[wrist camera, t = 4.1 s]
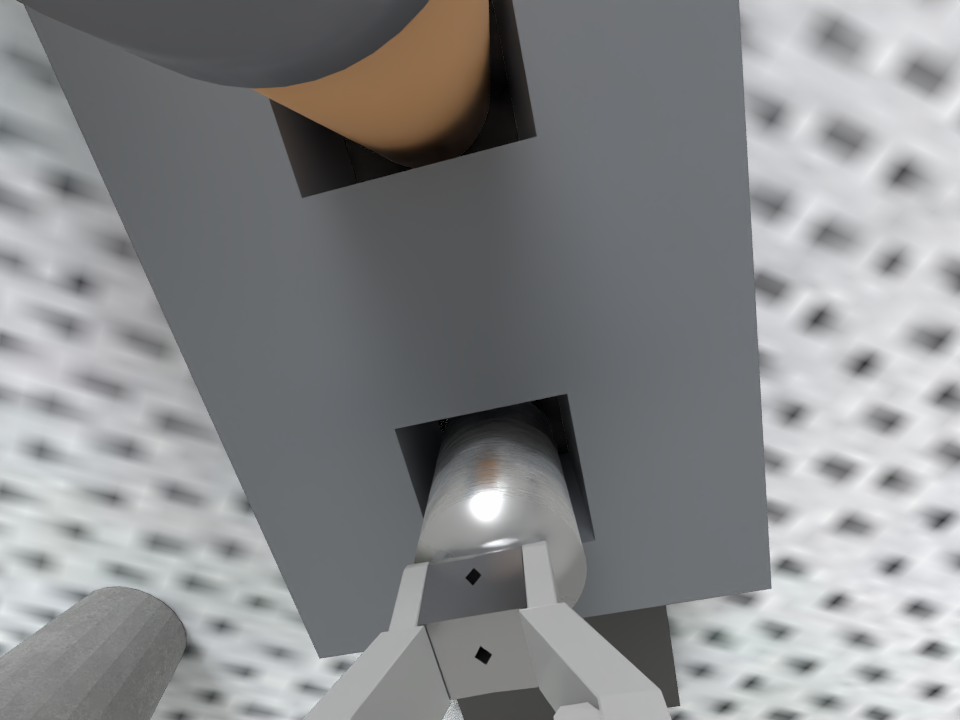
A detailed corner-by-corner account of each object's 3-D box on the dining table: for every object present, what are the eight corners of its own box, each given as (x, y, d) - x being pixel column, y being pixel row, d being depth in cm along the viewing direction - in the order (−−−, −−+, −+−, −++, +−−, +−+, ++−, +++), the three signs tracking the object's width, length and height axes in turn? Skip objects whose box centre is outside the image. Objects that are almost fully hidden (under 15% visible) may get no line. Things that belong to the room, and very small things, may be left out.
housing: (126, -75, 13) (-88, -242, 8) (619, -244, 12) (707, -563, 7) (362, 549, 19) (319, 658, 15) (698, 489, 18) (771, 588, 13)
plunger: (429, 405, 14) (392, 515, 9) (542, 382, 14) (570, 482, 9) (457, 501, 15) (438, 649, 10) (562, 481, 15) (599, 624, 10)
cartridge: (476, -24, 13) (364, -1647, 2) (512, 154, 14) (581, -65, 3) (320, 24, 14) (-608, -988, 2) (368, 191, 15) (-32, 122, 4)
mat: (650, 519, 18) (654, 527, 18) (676, 694, 21) (680, 705, 21) (414, 560, 19) (412, 569, 19) (469, 722, 22) (468, 733, 22)
